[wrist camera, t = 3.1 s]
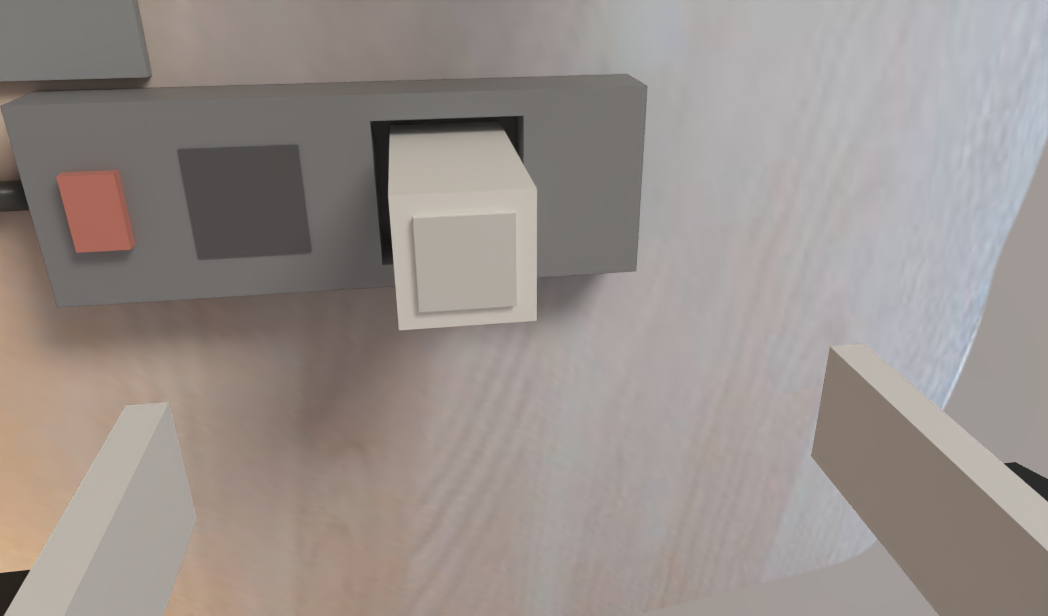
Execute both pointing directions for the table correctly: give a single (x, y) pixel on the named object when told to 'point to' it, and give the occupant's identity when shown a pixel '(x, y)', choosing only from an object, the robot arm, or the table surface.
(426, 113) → the power strip
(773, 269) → the table surface
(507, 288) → the block
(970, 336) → the table surface
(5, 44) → the mat
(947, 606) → the robot arm
